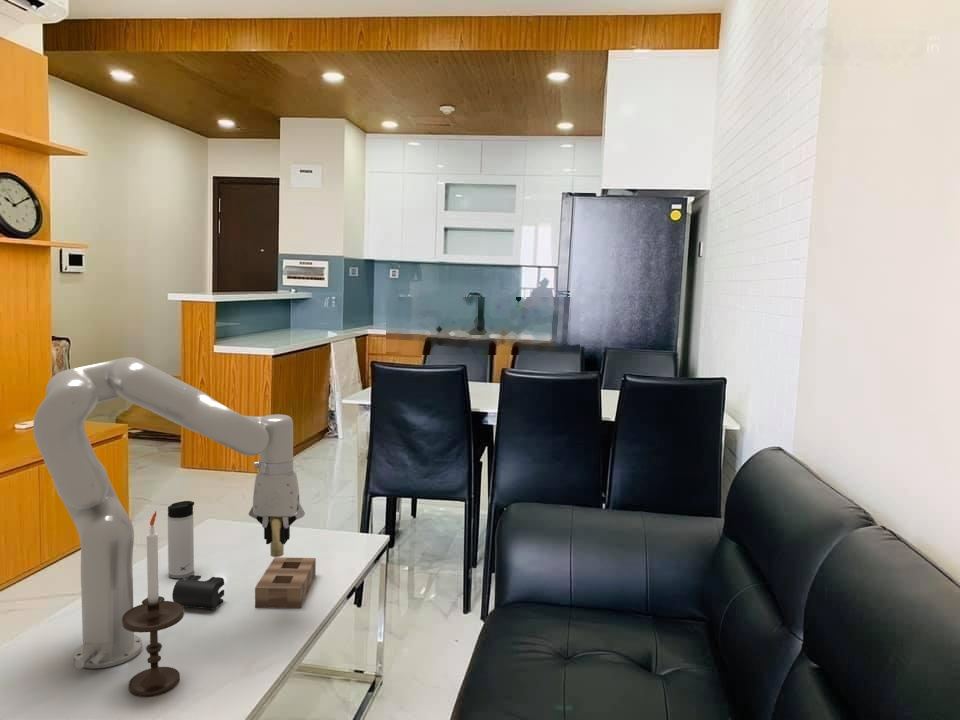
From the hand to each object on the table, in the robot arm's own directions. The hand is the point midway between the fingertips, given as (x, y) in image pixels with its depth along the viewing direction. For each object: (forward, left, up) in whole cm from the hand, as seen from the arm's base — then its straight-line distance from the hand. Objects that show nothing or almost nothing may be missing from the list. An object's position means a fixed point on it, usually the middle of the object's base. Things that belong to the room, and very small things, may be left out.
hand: (277, 541), depth 165 cm
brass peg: (0, 0, -3) cm, 3 cm away
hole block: (+11, 0, -17) cm, 21 cm away
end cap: (+2, +19, -18) cm, 26 cm away
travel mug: (+20, +30, -18) cm, 40 cm away
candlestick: (-31, +16, -18) cm, 39 cm away
